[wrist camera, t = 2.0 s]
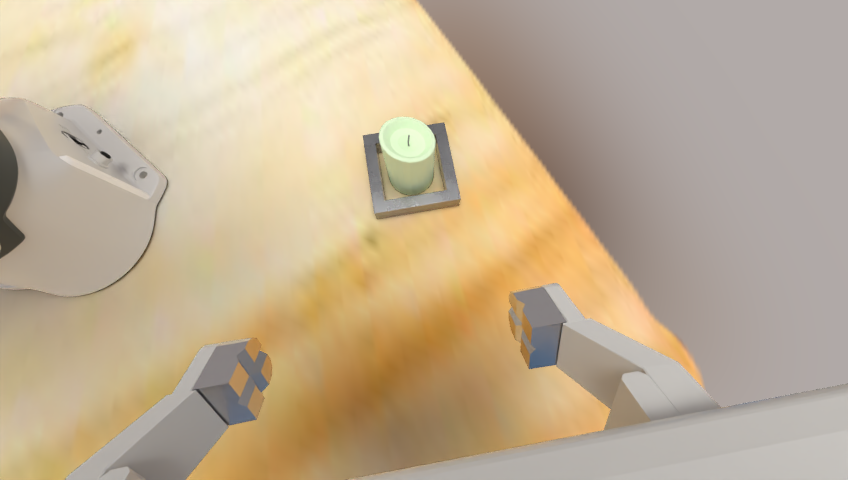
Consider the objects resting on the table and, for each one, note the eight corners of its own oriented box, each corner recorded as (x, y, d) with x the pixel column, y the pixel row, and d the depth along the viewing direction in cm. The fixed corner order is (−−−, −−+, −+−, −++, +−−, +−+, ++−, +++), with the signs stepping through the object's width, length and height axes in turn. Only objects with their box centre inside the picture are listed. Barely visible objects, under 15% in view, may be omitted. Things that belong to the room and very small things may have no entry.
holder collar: (458, 205, 34) (460, 198, 32) (377, 219, 34) (374, 213, 32) (443, 132, 36) (444, 122, 34) (366, 145, 36) (362, 135, 34)
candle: (417, 146, 36) (415, 98, 28) (442, 179, 35) (447, 140, 27) (380, 169, 35) (367, 127, 27) (405, 203, 34) (399, 171, 26)
